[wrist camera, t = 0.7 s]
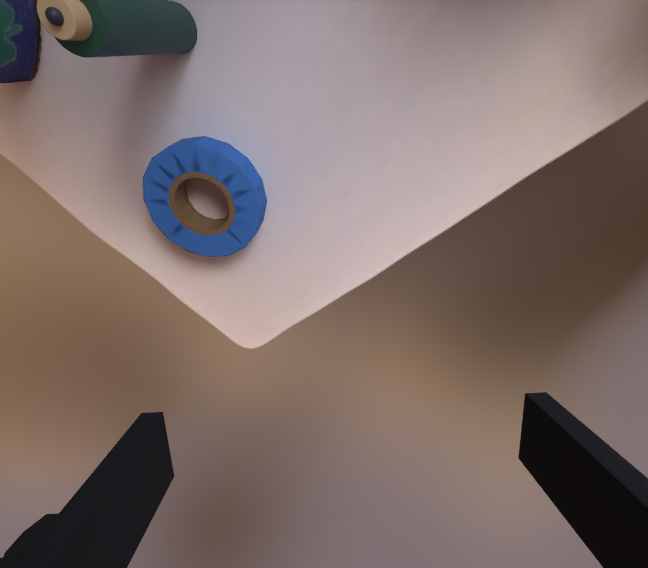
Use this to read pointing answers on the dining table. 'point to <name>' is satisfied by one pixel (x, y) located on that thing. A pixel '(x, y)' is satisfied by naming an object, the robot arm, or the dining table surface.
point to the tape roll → (223, 171)
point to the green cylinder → (119, 26)
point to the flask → (19, 40)
